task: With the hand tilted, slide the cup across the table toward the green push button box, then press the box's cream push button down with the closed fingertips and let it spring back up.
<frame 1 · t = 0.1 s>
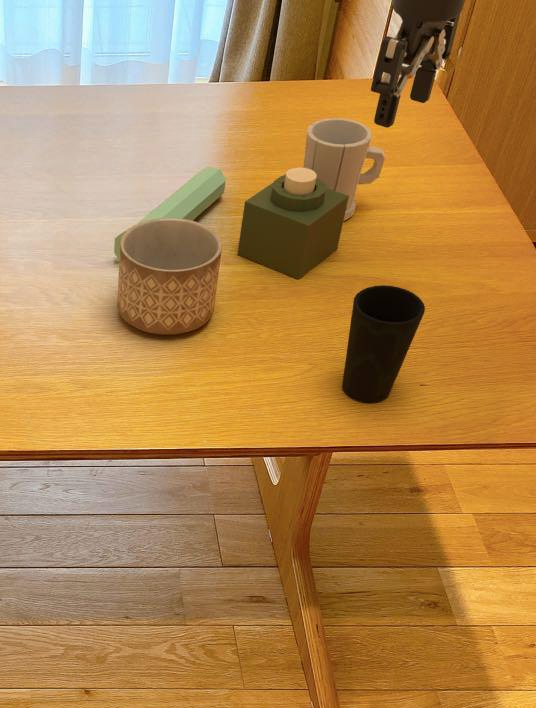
hand: (401, 112, 122), 23 cm above the table, tool pointing down, fingers open, 8 cm apart
green push button box: (287, 252, 144), on the table
cream push button: (300, 181, 136), point 11 cm above the table, slide at 0.1 cm
cup: (365, 389, 123), on the table
cup 2: (327, 210, 152), on the table
pale green long bar: (174, 230, 150), on the table
planter: (164, 314, 135), on the table
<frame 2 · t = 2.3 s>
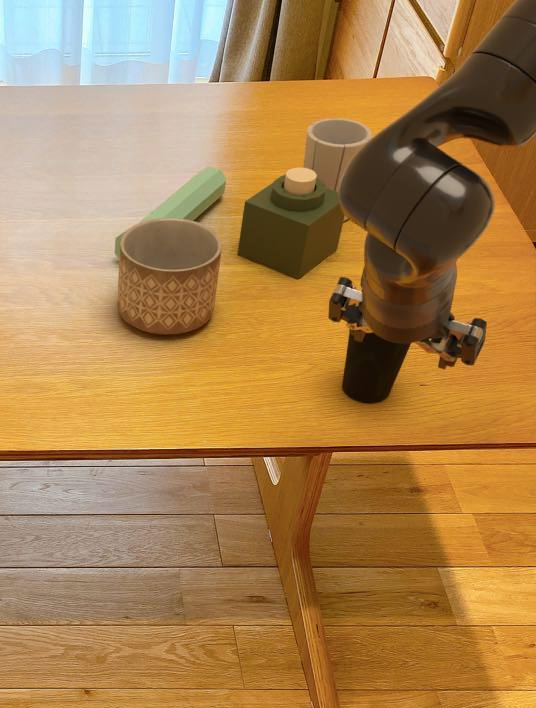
hand: (403, 346, 103), 15 cm above the table, tool tilted 40°, fingers open, 8 cm apart
nothing on the table moved.
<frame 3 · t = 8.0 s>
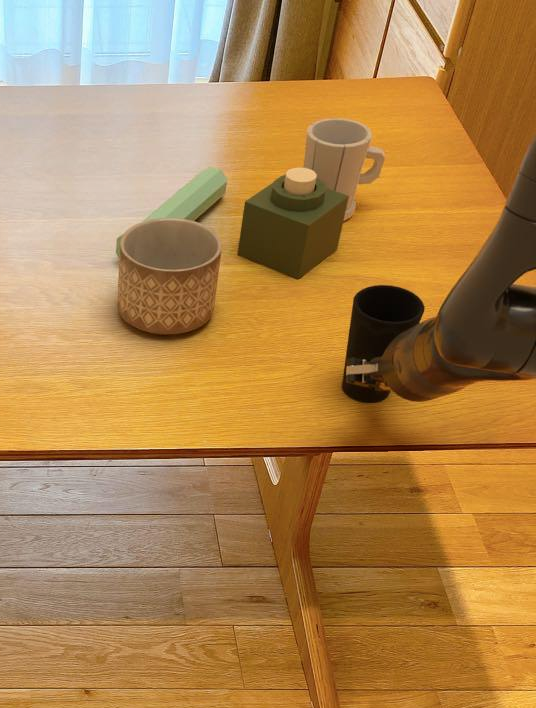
hand: (380, 381, 116), 4 cm above the table, tool tilted 45°, fingers closed
cup: (365, 389, 123), on the table, touching gripper
everything else where it was.
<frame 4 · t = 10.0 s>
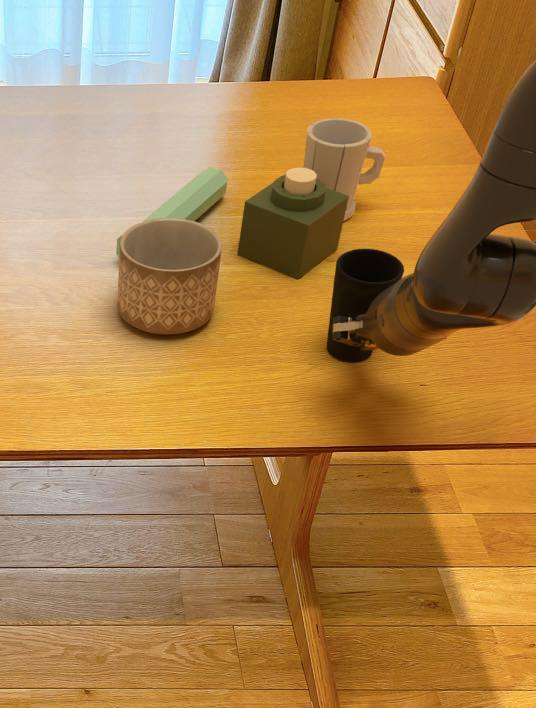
hand: (366, 341, 122), 4 cm above the table, tool tilted 45°, fingers closed
cup: (348, 350, 128), on the table, touching gripper
everything else where it was.
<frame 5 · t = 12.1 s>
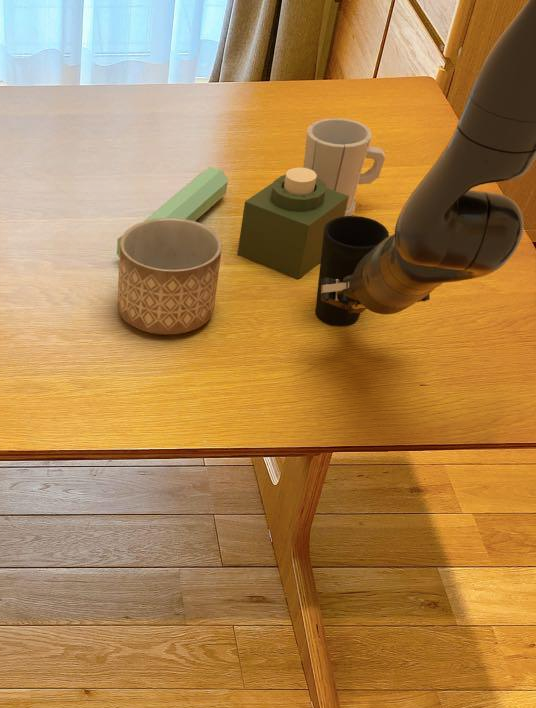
hand: (353, 304, 127), 4 cm above the table, tool tilted 45°, fingers closed
cup: (336, 315, 133), on the table, touching gripper
everything else where it was.
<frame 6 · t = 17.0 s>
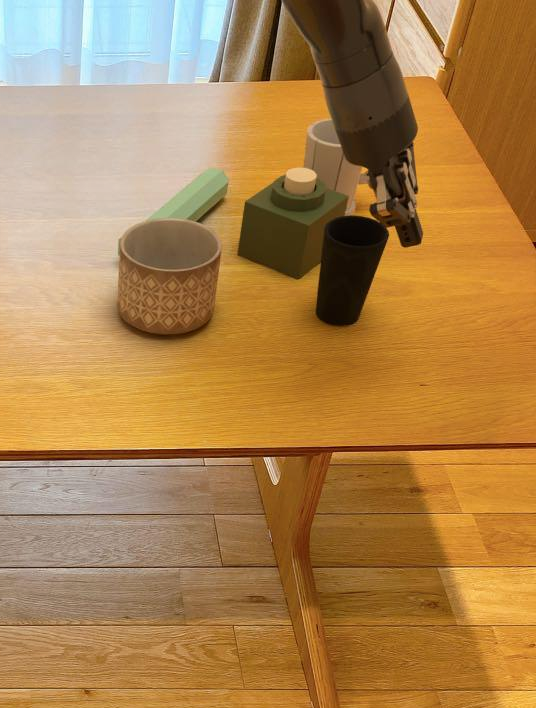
hand: (413, 241, 115), 16 cm above the table, tool tilted 30°, fingers closed
cup: (336, 315, 133), on the table
everything else where it was.
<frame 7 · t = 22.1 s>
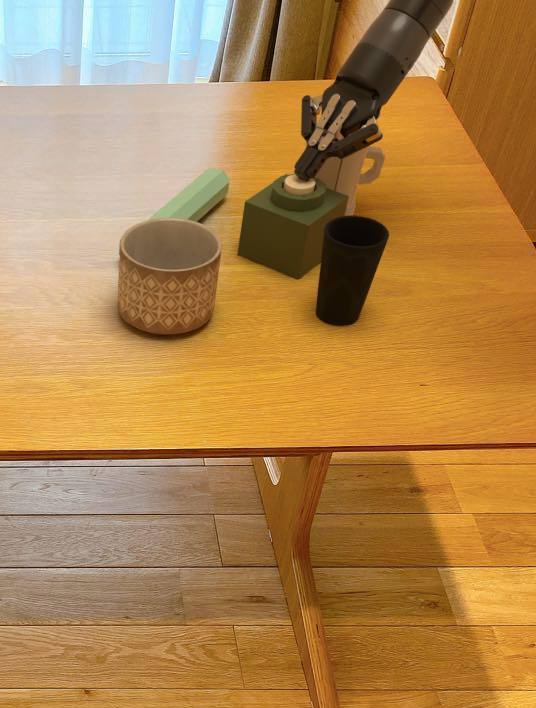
hand: (300, 177, 136), 11 cm above the table, tool tilted 45°, fingers closed
cream push button: (298, 188, 137), point 10 cm above the table, slide at -0.9 cm, touching gripper
everything else where it was.
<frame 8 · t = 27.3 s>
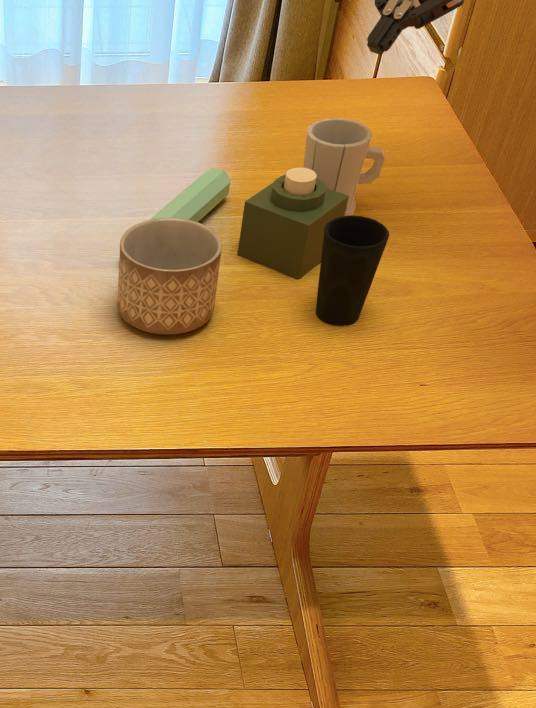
hand: (373, 50, 127), 26 cm above the table, tool tilted 45°, fingers closed
cream push button: (300, 181, 136), point 11 cm above the table, slide at 0.1 cm
everything else where it was.
at the end: cup 15.8 cm from the green push button box (horizontally); cream push button pushed in 1.2 cm at the most during the clip, back to where it started at the end; cream push button slide at 0.1 cm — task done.
